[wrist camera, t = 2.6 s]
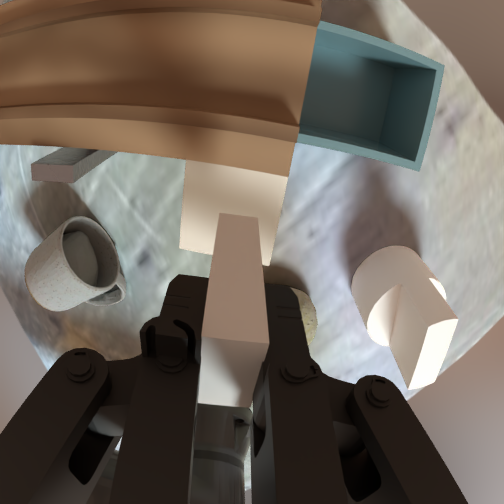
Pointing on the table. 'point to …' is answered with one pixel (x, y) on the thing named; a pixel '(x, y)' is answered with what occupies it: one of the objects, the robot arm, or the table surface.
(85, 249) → the ceramic mug
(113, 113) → the wooden ramp track
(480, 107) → the table surface
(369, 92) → the open box
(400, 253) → the cylinder with rectangular tab
